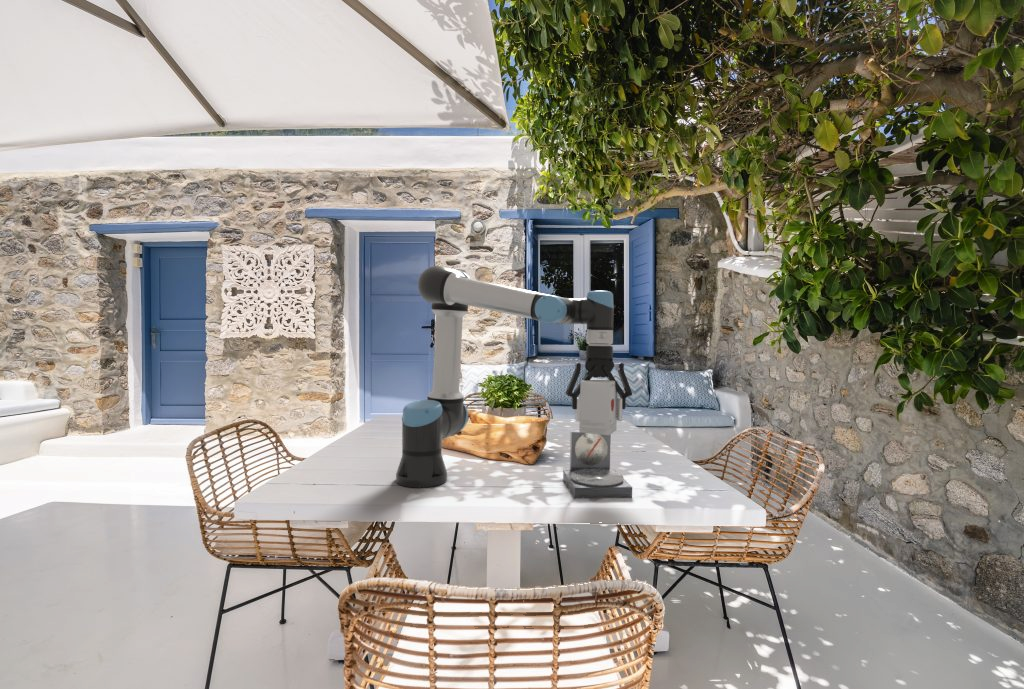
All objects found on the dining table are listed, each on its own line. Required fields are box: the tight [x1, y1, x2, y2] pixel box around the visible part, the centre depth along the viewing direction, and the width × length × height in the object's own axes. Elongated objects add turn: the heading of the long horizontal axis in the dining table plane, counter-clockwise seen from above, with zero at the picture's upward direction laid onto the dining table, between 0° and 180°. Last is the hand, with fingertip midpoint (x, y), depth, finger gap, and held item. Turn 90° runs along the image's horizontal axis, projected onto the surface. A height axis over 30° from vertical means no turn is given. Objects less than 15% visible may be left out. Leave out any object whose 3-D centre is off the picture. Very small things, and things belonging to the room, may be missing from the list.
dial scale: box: [562, 430, 633, 500], centre depth 153 cm, size 16×18×15 cm
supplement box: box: [578, 377, 618, 435], centre depth 151 cm, size 9×9×15 cm
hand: (598, 420), depth 151 cm, fingers closed on supplement box, 12 cm apart
